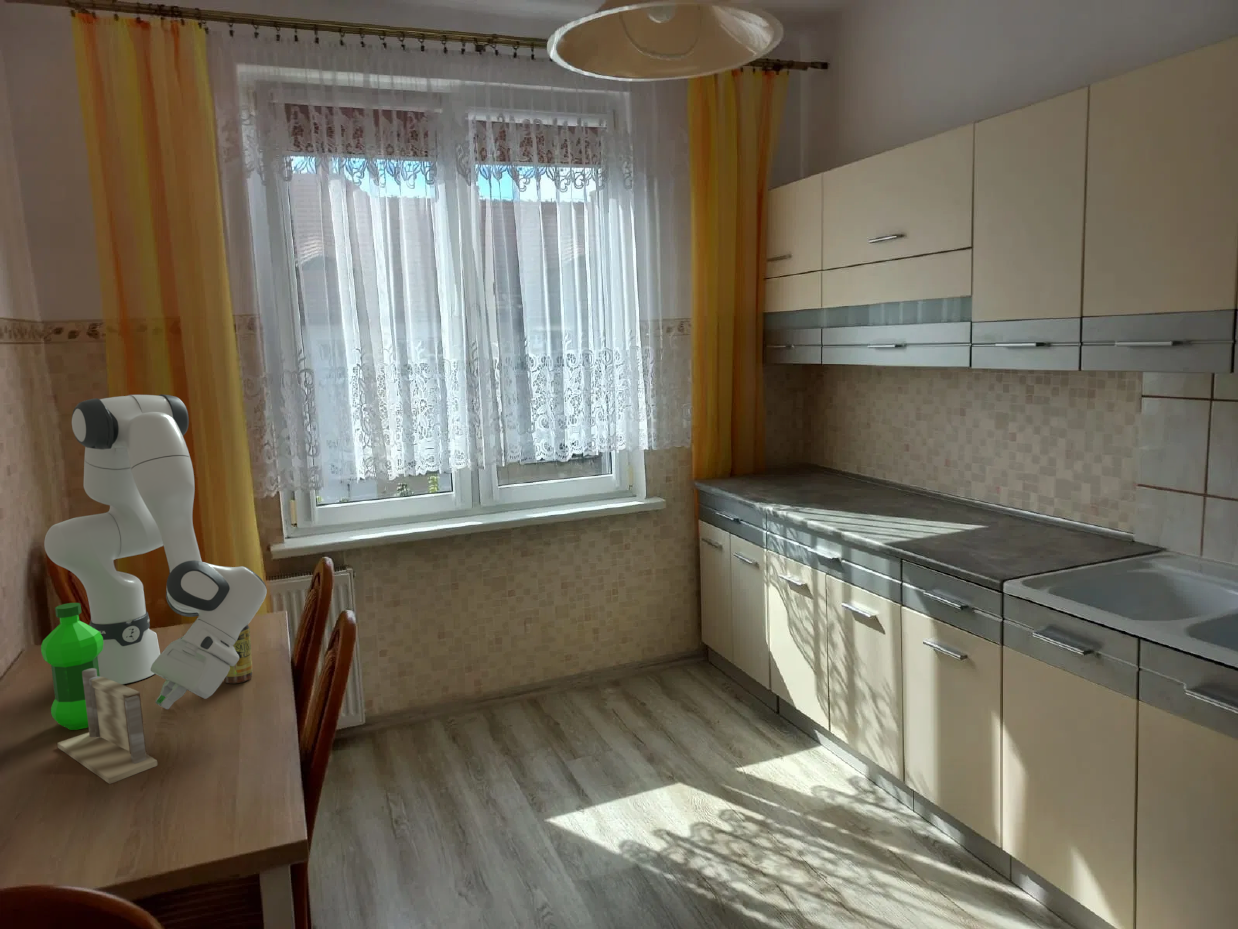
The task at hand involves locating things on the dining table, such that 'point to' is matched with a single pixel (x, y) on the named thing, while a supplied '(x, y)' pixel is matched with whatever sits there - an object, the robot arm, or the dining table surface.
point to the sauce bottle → (241, 659)
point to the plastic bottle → (71, 664)
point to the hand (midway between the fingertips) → (161, 706)
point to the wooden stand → (110, 743)
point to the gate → (111, 710)
